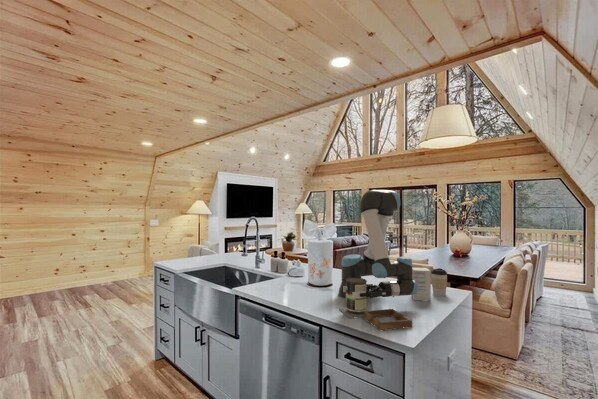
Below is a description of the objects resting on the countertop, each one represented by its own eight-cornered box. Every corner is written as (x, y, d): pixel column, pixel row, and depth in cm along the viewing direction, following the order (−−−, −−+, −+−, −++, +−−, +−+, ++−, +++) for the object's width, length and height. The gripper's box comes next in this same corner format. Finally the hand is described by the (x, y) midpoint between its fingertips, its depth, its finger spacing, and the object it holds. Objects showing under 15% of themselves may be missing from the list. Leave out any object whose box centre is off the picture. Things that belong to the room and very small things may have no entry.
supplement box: (431, 301, 169) (431, 270, 170) (413, 300, 171) (413, 270, 172) (427, 296, 179) (427, 267, 179) (411, 295, 180) (410, 266, 181)
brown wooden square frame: (363, 317, 143) (363, 311, 143) (392, 315, 147) (392, 308, 147) (380, 330, 128) (380, 323, 128) (412, 327, 132) (412, 320, 132)
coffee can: (344, 310, 147) (344, 281, 147) (347, 304, 156) (347, 276, 157) (365, 313, 144) (365, 283, 144) (367, 306, 153) (367, 278, 154)
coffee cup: (446, 297, 177) (446, 271, 177) (430, 295, 181) (429, 269, 182) (448, 293, 184) (448, 268, 185) (432, 291, 189) (432, 267, 190)
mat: (338, 309, 155) (338, 308, 155) (362, 307, 158) (362, 306, 158) (349, 318, 142) (349, 317, 142) (374, 316, 145) (374, 314, 145)
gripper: (401, 303, 144) (358, 306, 138) (377, 290, 166) (339, 293, 160) (401, 287, 144) (358, 290, 138) (377, 276, 166) (339, 279, 160)
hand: (348, 292), depth 149 cm, fingers closed on coffee can, 10 cm apart
